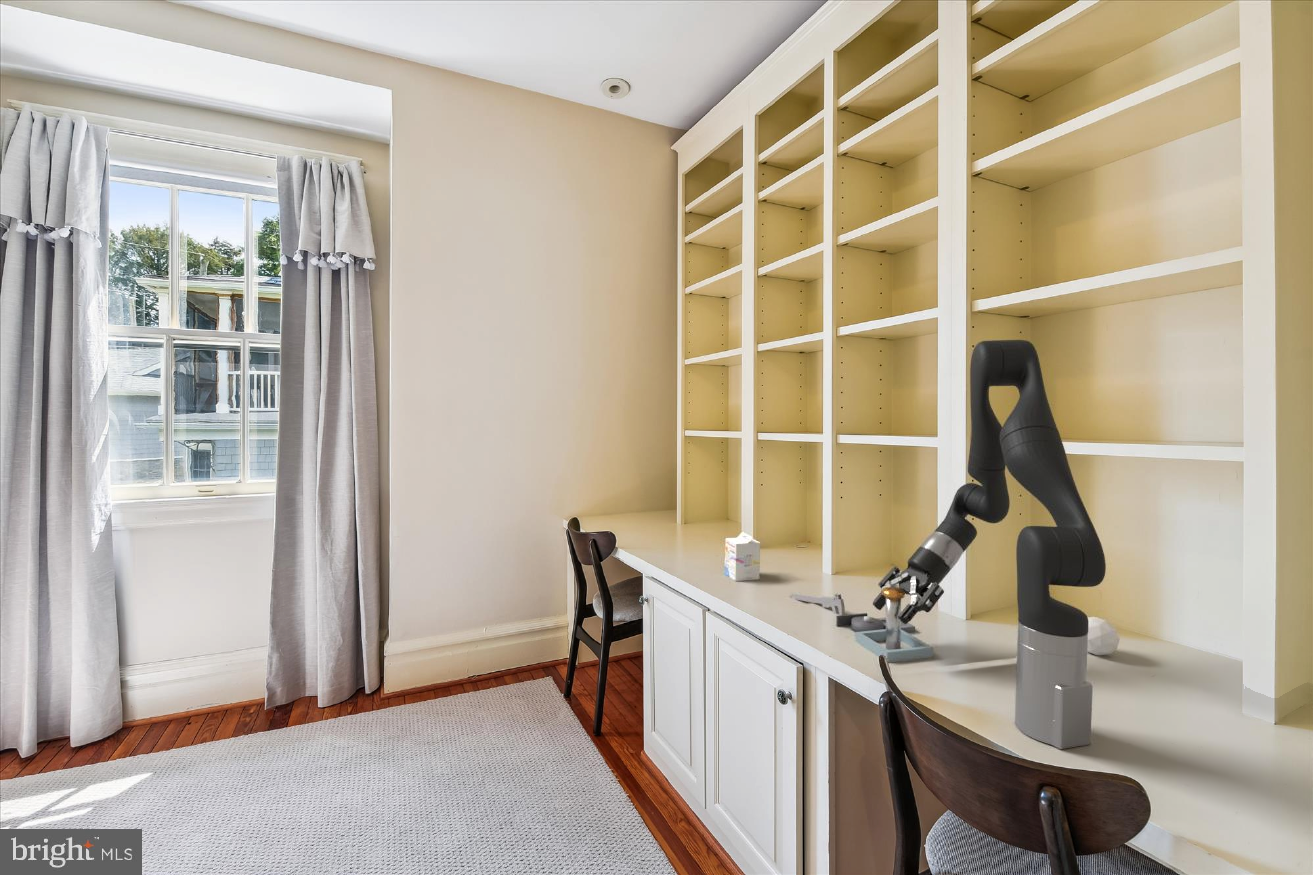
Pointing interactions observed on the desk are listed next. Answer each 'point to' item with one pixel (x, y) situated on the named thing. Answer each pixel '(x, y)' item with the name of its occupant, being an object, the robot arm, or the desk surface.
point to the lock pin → (893, 616)
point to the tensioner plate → (868, 623)
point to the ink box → (742, 558)
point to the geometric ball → (1101, 637)
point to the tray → (916, 652)
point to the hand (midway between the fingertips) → (888, 613)
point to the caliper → (824, 601)
